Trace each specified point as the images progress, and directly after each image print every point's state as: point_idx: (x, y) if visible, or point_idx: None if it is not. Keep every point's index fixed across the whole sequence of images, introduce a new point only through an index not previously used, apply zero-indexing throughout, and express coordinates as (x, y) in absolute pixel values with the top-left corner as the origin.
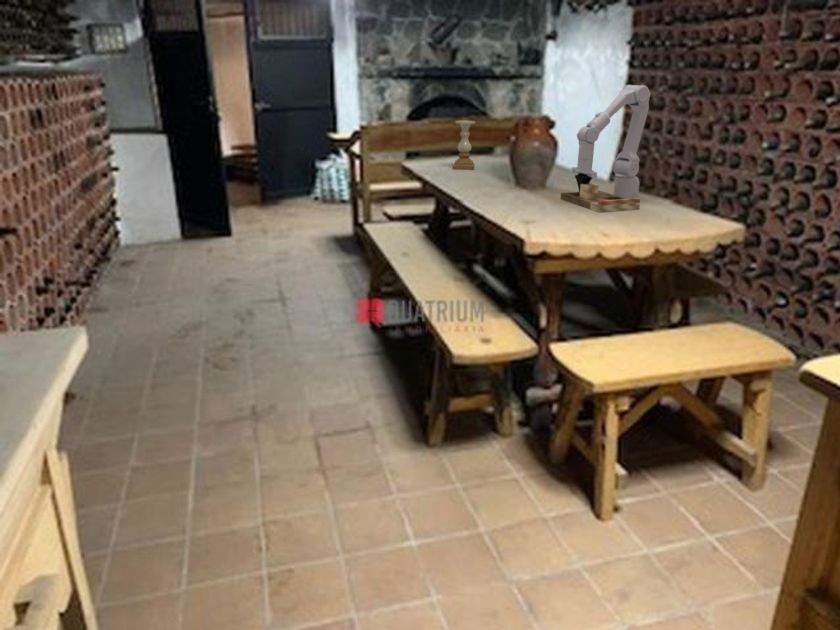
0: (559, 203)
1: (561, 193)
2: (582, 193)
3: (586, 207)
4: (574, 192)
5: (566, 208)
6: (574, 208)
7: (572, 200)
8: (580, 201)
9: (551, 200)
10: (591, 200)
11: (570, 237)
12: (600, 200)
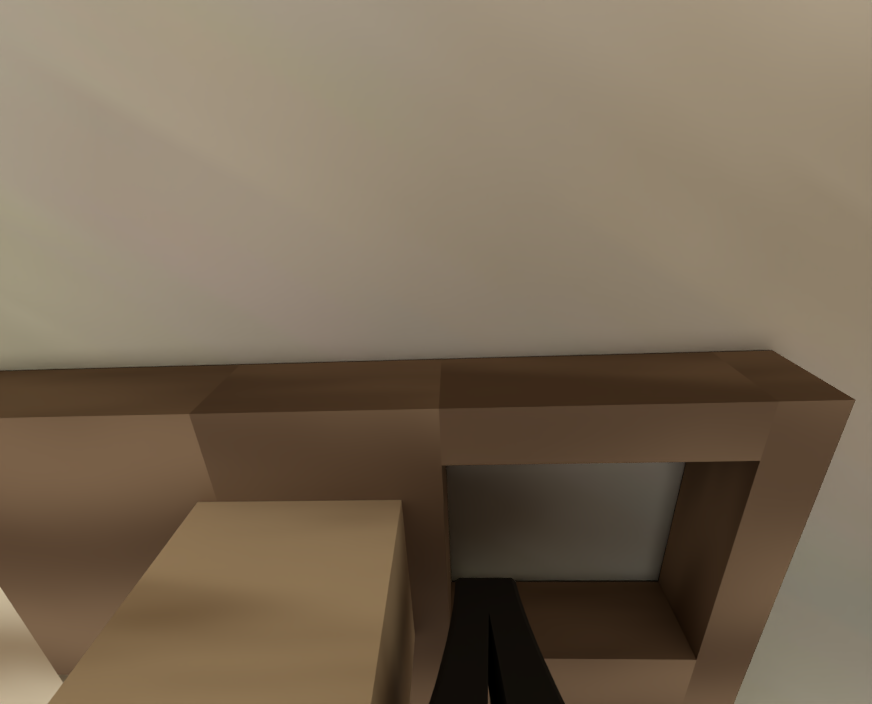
0: (470, 141)
1: (827, 396)
2: (301, 558)
3: (73, 370)
4: (736, 593)
5: (16, 22)
6: (30, 178)
7: (430, 376)
8: (199, 395)
9: (770, 135)
10: (77, 508)
11: None
12: (84, 598)
